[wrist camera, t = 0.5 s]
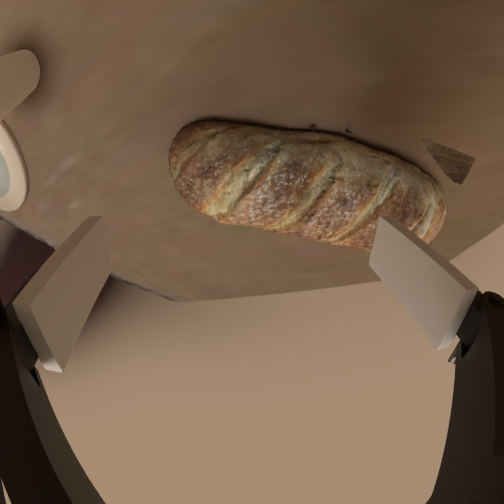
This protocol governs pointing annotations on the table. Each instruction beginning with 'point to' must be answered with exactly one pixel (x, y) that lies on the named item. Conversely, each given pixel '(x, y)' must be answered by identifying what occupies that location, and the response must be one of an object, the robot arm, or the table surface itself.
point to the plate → (11, 171)
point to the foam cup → (17, 79)
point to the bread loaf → (307, 182)
